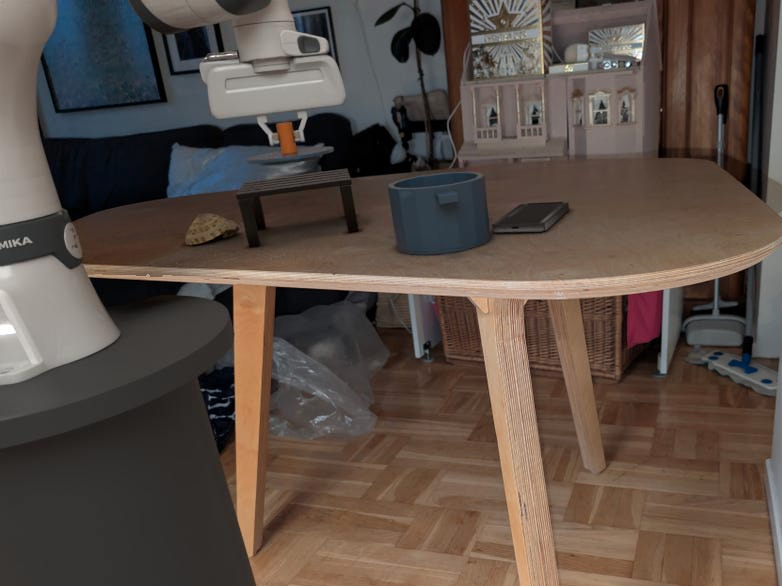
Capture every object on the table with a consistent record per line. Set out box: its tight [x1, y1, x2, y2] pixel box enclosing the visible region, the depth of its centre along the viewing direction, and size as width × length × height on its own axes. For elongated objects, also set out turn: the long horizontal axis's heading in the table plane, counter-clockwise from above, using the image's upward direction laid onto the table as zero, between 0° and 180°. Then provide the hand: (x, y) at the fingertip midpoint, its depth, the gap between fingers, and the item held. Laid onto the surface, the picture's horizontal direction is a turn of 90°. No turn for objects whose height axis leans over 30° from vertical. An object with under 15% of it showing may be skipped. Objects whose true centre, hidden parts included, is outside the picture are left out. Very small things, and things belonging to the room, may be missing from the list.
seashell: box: [184, 212, 242, 246], centre depth 115 cm, size 8×6×8 cm
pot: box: [387, 171, 491, 256], centre depth 94 cm, size 13×18×8 cm
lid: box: [245, 121, 335, 166], centre depth 109 cm, size 14×14×6 cm
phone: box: [491, 201, 570, 234], centre depth 102 cm, size 8×1×15 cm
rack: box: [235, 168, 360, 249], centre depth 113 cm, size 17×16×8 cm
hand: (288, 143), depth 109 cm, fingers closed on lid, 2 cm apart
